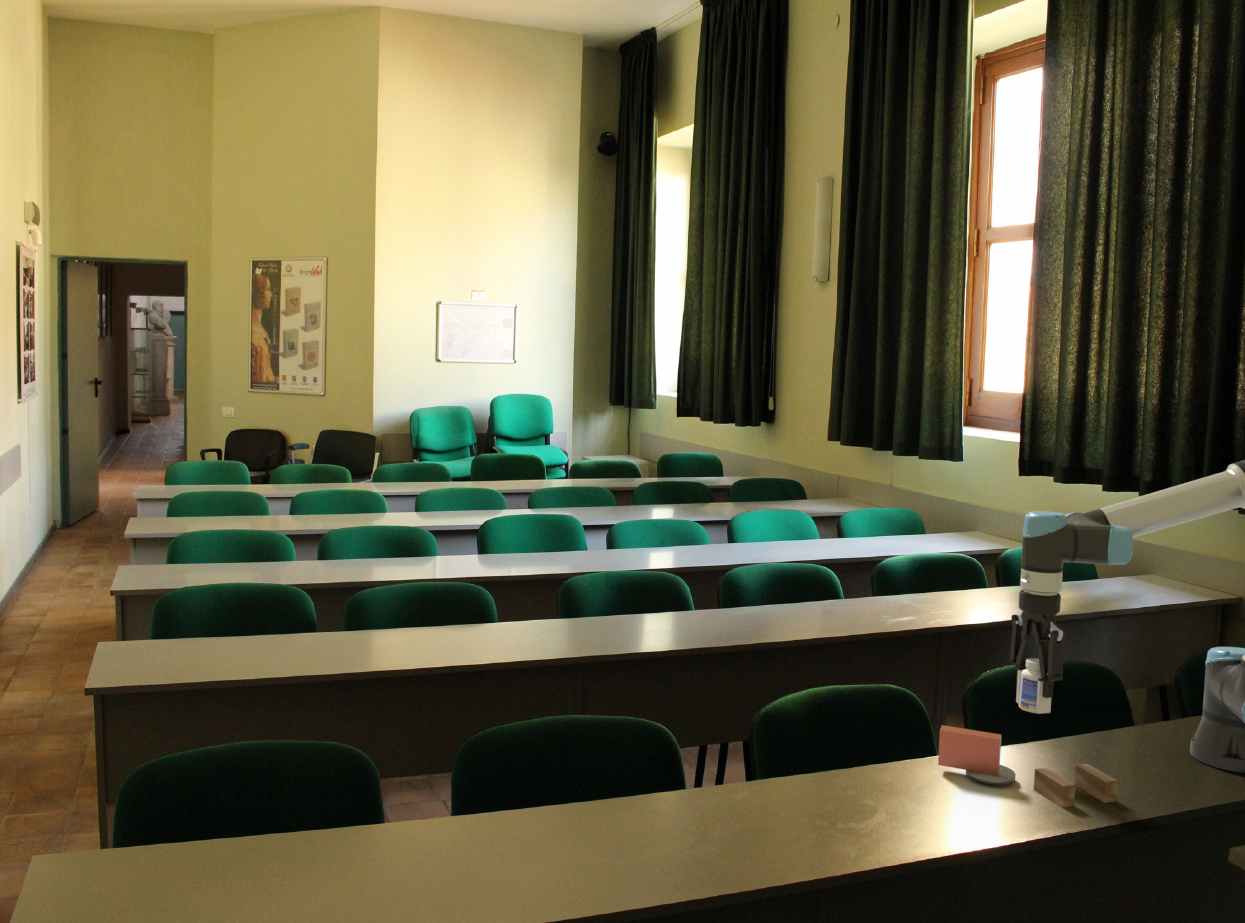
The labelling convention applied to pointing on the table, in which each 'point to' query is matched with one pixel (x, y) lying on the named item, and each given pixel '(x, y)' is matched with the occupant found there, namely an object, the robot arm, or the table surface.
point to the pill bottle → (1029, 685)
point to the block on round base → (974, 754)
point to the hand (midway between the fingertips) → (1032, 707)
